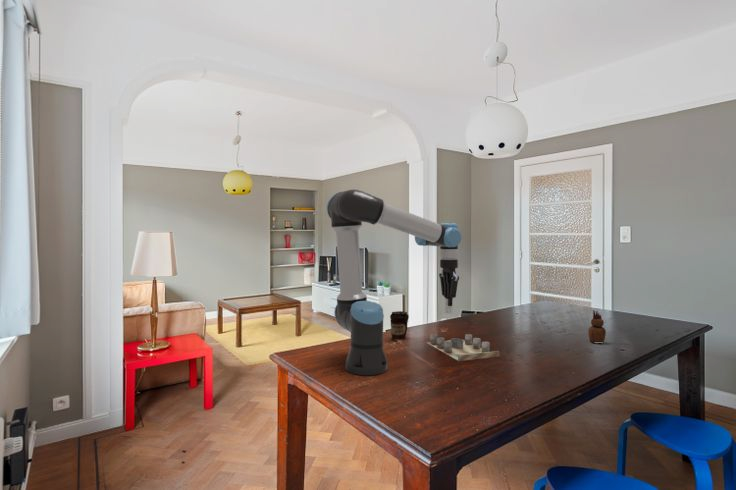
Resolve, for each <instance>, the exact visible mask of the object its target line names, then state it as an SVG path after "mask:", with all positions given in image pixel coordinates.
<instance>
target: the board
mask: <svg viewBox="0 0 736 490" xmlns="http://www.w3.org/2000/svg"><path fill="white" fill-rule="evenodd" d="M429 338H430V339H429V340H430V341H427V342H426V344H428V345H430V346H431V347H434V348H435V349H437V350H438V351H440V352H442V353H443V354H446V355H447V356H449V357H451V358H453V359H454V360H456V361H458V362H465V361H474V360H481V359H489V358H491V359H492V358H498V357H500V351H499V350H493V351H490V342H489V341H481V338H479V337H473V334H471V333H465V334H464V339H463V348H462V349H455V348H452V342H451V339H449V340H445V337H441V336H440V337H438V334H436V333H430V337H429Z"/></svg>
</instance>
